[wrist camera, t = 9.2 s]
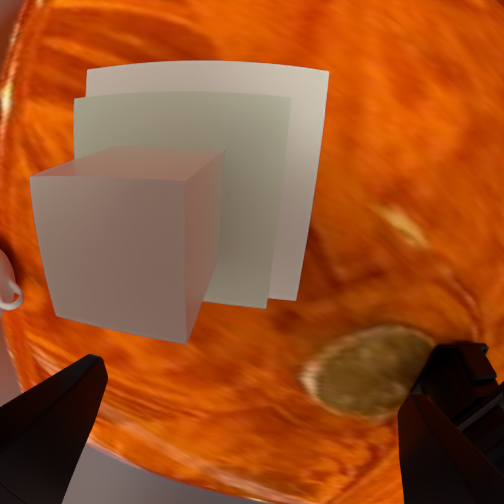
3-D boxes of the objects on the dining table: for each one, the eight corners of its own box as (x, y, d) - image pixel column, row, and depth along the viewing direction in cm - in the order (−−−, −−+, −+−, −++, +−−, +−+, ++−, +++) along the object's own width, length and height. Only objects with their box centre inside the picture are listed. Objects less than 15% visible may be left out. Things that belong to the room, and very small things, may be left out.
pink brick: (218, 258, 15) (187, 344, 9) (121, 246, 15) (56, 315, 9) (225, 149, 13) (185, 180, 7) (117, 145, 13) (29, 176, 7)
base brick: (268, 270, 19) (266, 308, 16) (117, 252, 20) (88, 283, 16) (287, 101, 15) (291, 97, 11) (112, 97, 15) (74, 98, 12)
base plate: (295, 292, 21) (295, 300, 20) (103, 268, 21) (96, 274, 21) (326, 73, 15) (329, 71, 14) (95, 70, 15) (87, 69, 14)
